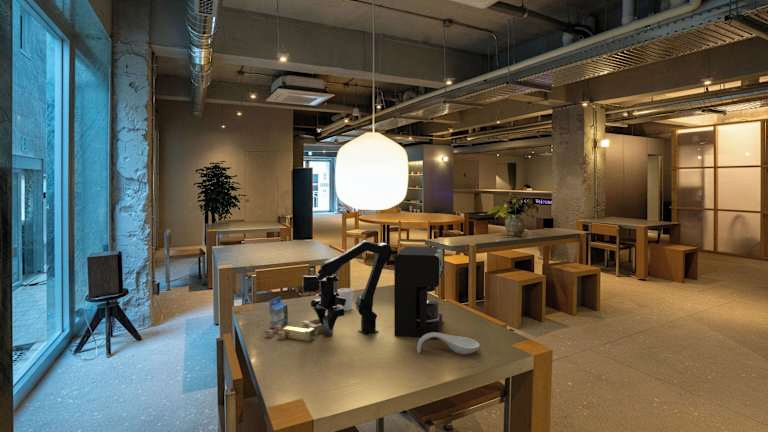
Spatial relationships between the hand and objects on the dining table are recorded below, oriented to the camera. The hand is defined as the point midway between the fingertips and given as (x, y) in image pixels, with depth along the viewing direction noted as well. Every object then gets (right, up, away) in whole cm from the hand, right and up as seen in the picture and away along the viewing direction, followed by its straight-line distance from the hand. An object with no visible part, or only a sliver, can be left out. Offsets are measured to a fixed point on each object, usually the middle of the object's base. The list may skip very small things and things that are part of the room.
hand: (327, 327), depth 170 cm
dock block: (-5, -3, +7) cm, 9 cm away
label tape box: (-24, -3, +12) cm, 27 cm away
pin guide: (-20, -3, 0) cm, 20 cm away
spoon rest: (+49, -5, -17) cm, 52 cm away
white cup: (+4, -1, +37) cm, 37 cm away
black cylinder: (+1, -3, 0) cm, 3 cm away
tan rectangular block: (-11, -3, -4) cm, 12 cm away
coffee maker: (+40, -3, +6) cm, 40 cm away
